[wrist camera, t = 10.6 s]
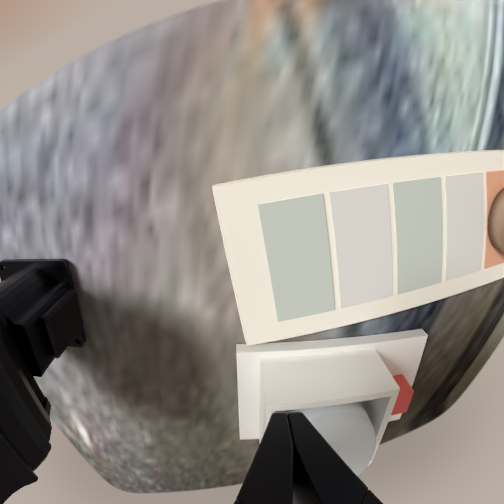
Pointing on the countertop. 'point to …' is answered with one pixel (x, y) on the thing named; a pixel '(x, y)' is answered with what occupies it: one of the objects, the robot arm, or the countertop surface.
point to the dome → (345, 432)
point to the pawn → (497, 222)
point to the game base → (328, 377)
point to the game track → (357, 239)
